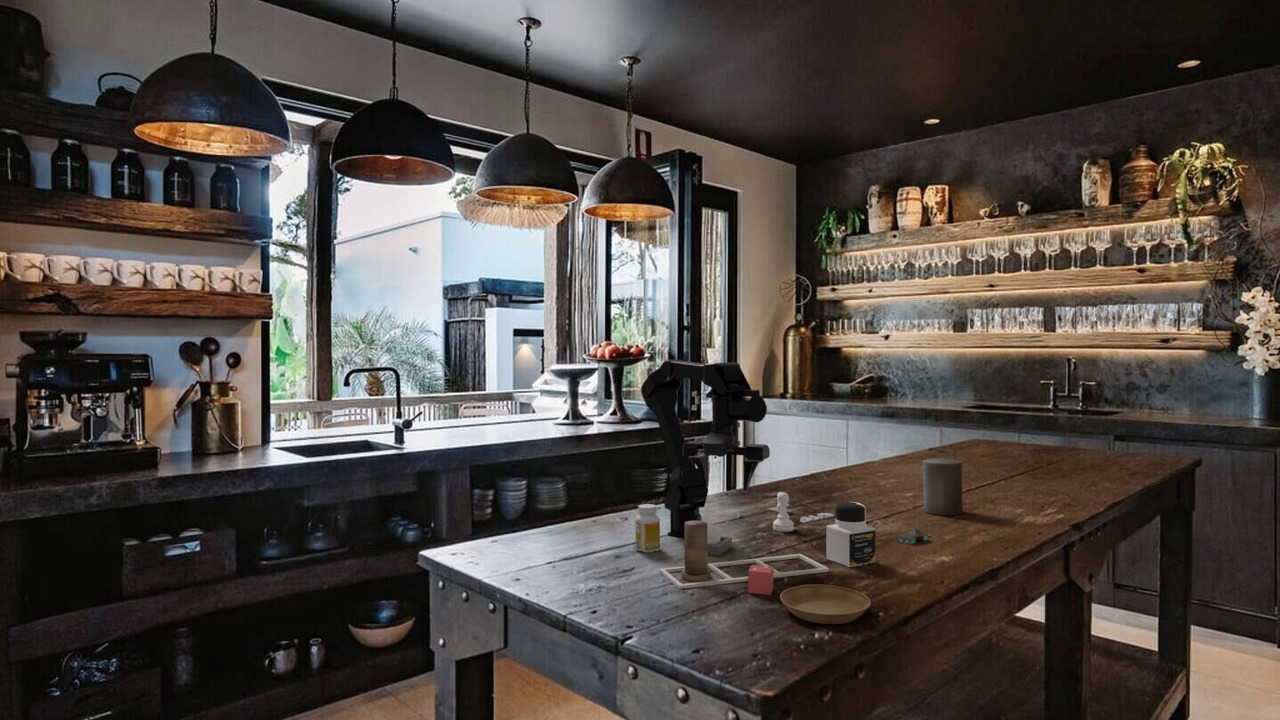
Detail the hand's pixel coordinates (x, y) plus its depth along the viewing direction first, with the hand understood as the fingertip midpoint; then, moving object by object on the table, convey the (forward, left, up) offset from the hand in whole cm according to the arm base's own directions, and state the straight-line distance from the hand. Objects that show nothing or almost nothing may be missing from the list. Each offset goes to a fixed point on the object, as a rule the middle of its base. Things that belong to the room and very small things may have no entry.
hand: (725, 489), depth 166 cm
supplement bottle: (-15, -9, -13) cm, 22 cm away
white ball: (-3, -3, -13) cm, 13 cm away
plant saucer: (+29, -31, -14) cm, 45 cm away
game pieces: (+19, +33, -14) cm, 40 cm away
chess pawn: (+7, +21, -13) cm, 26 cm away
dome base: (-3, -3, -13) cm, 14 cm away
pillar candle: (+40, +57, -13) cm, 71 cm away
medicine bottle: (+27, +1, -13) cm, 30 cm away
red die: (+16, -25, -13) cm, 32 cm away
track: (+9, -15, -13) cm, 22 cm away
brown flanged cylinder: (+2, -23, -13) cm, 26 cm away
